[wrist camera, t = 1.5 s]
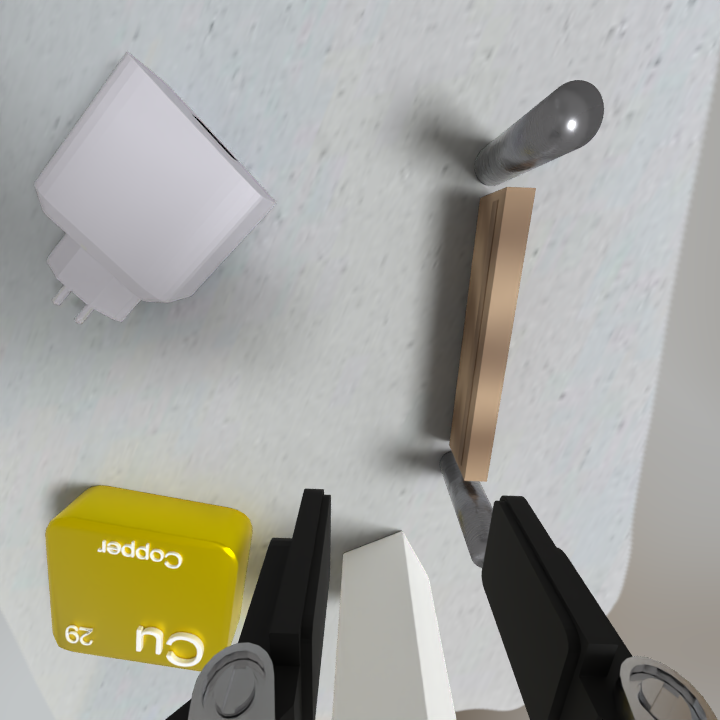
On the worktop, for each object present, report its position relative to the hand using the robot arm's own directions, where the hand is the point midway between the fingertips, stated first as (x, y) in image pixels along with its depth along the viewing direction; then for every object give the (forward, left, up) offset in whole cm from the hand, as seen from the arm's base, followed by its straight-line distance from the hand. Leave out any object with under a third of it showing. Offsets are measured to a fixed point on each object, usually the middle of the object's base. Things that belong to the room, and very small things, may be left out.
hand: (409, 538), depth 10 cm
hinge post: (-13, +6, -17) cm, 23 cm away
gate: (-2, +6, -17) cm, 18 cm away
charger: (-8, -16, -18) cm, 25 cm away
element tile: (+21, -19, -18) cm, 33 cm away
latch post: (+9, +6, -17) cm, 21 cm away
